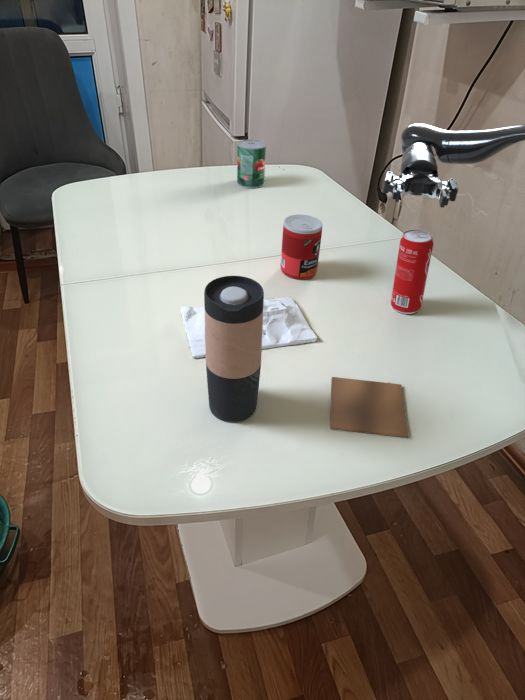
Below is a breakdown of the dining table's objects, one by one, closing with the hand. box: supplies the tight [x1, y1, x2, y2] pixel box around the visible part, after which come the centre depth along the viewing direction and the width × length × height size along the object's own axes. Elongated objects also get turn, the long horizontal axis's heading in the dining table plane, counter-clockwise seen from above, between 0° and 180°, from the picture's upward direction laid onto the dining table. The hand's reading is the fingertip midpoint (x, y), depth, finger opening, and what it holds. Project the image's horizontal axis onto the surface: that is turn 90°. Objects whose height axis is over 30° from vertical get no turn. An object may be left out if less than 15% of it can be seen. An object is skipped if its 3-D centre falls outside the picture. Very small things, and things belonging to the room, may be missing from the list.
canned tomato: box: [236, 139, 267, 189], centre depth 143 cm, size 8×8×11 cm
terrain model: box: [179, 296, 318, 359], centre depth 90 cm, size 17×23×5 cm
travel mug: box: [203, 275, 265, 423], centre depth 70 cm, size 8×8×20 cm
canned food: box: [280, 214, 323, 280], centre depth 105 cm, size 8×8×11 cm
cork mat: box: [330, 376, 410, 439], centre depth 77 cm, size 11×11×1 cm
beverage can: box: [390, 229, 434, 315], centre depth 94 cm, size 6×6×15 cm
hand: (420, 200), depth 97 cm, fingers open, 8 cm apart
